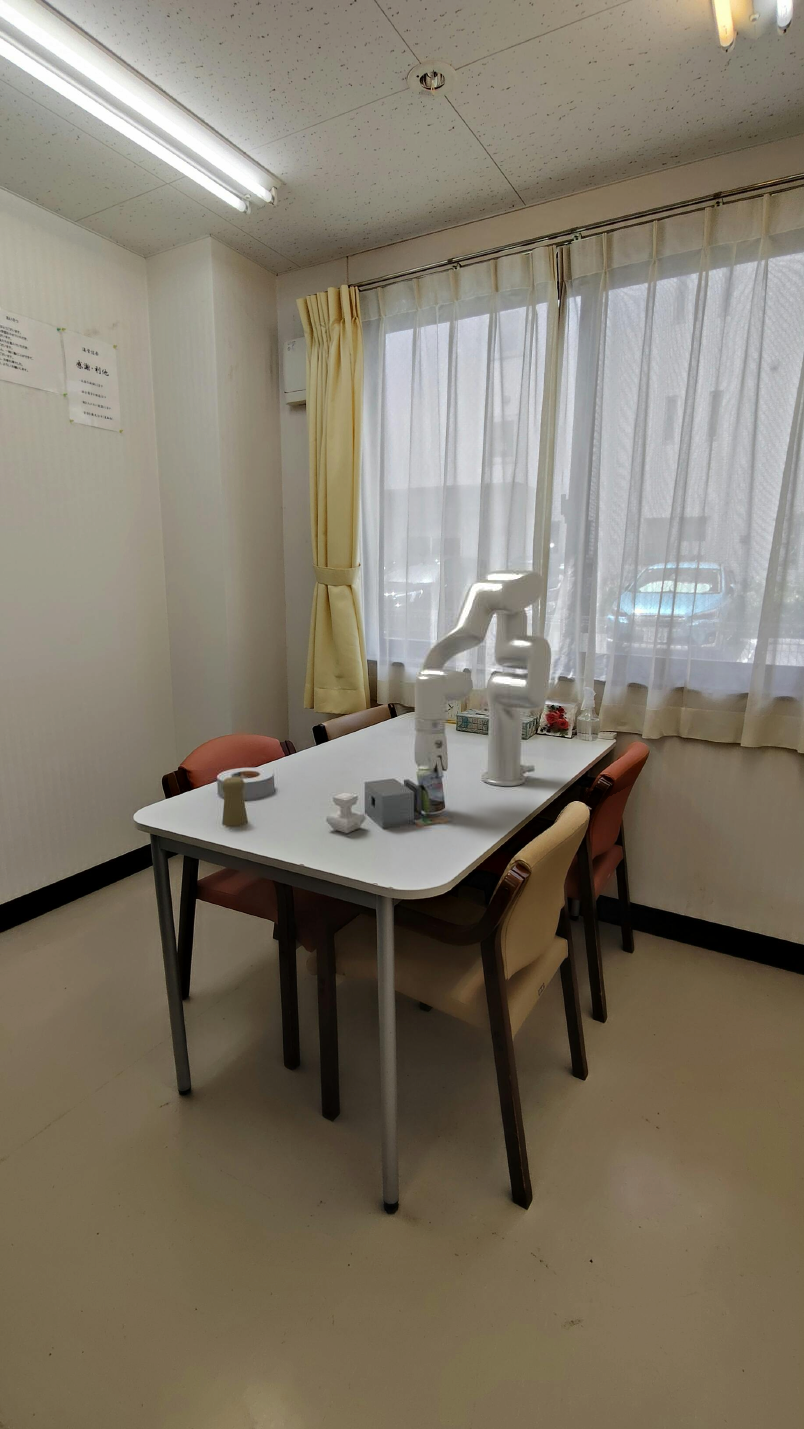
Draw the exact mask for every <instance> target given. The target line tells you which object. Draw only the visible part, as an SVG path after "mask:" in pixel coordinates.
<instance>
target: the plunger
mask: <svg viewBox="0 0 804 1429" xmlns="http://www.w3.org/2000/svg"><path fill="white" fill-rule="evenodd" d="M403 785H404V786H406V787H407V788H409V789H410V790H411V791H413V792H414V814H416V815H419V816H420V817H421V818H422V819H427V816H426V815H425V813H424V814H423V811H422V788H421V787H419V786H418V784H417V783H415V782H413V781H412V780H410V779H409V778H406V779H404V780H403Z"/></svg>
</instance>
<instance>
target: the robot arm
mask: <svg viewBox="0 0 804 1429" xmlns="http://www.w3.org/2000/svg"><path fill="white" fill-rule="evenodd" d="M544 589H545V582H544V578H543V576H542V575H541V574H540V573H539V572H538V571H535V570H525V569H524V570H511V569H510V570H509V569H508V570H504V569H503V570H494V571H490V572H488V573H486V574H485V575H484V576H483V579H482V580H477V581H475V582H473V583H472V584H470V586H469V587H468V589H467V592H466V594H465V597H464V598H463V599H464V600H463V602H462V603H461V604H462V605H461V607H460V610H459V613H458V615H457V617H456V619H455V623H454V624H453V628H452V629H451V631H449V632H448V633H446V634H445V635H444V636H442V637H441V638H440V639H439V640H438V641H437V642H436V643H435V644H433V646H432V647H431V648H430V649H429V651H428V652H427V654H426V655H425V657H424V660H423V662H422V665H421V667H420V670H419V672H418V675H417V676H416V677H415V680H414V731H415V738H414V763H415V764H416V765H417V768H418V767H419V766H422V767H425V768H429V771H430V772H433V771H434V770H433V768H436V779H440V778H442V779H443V778H444V772H447V771H448V768H449V766H448V765H449V764H448V762H449V761H448V759H449V758H448V756H449V755H448V754H449V753H448V743H447V735H446V734H447V733H446V711H447V710H446V708H447V706H446V705H447V704H446V703H447V702H461V701H464V700H467V698H468V697H469V696H470V695H471V694H472V691H473V688H474V686H473V685H474V684H473V680H472V678H471V676H470V675H469V674H467V673H466V672H464V671H460V670H451V669H443V668H444V666H445V665H446V664H447V662H448V661H450V659H452V658H453V657H455V656H457V655H458V654H461V653H463V652H466V651H468V650H471V649H473V648H475V647H478V646H479V645H481V644H482V643H483V642H484V641H485V638H486V635H487V632H488V630H489V627H490V625H491V622H492V619H493V616H494V615H495V616H496V631H495V644H494V660H495V663H496V664H497V665H498V666H500V667H502V668H507V669H515V670H524V671H525V670H526V671H527V674H522V673H514V672H497V673H494V674H492V675H491V676H490V677H489V678H488V679H487V682H486V687H485V688H486V690H485V691H486V698H487V704H488V706H487V707H488V738H487V740H488V742H487V743H488V744H487V745H488V746H487V768H486V769H487V771H486V772H484V773H483V774H481V780H482V781H483V782H484V783H485V784H489V785H493V786H498V787H500V786H501V787H514V786H519V785H522V784H524V783H525V782H526V776H525V775H524V774H526V773H534V772H535V766H534V765H532V764H531V765H526V764H521V762H522V741H523V740H522V738H523V737H522V736H523V735H522V734H523V719H522V717H521V714H520V711H519V709H521V710H522V709H523V710H531V711H537V710H541V709H542V708H543V707H544V706H545V705H546V703H547V699H548V695H549V686H550V675H551V666H552V649H551V645H550V642H549V641H548V640H547V639H546V638H545V637H543V636H539V635H528V614H527V611H526V608H528V607H531V605H534V604H535V603H537V602H538V601H539V600H540V598H541V597H542V595H543V593H544Z"/></svg>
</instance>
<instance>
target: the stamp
mask: <svg viewBox="0 0 804 1429" xmlns="http://www.w3.org/2000/svg"><path fill="white" fill-rule="evenodd" d="M358 800H359V798H358V794H352V793H347V792H342V793H340V794H338V795H335V796H333V797H332V802H333V803H334V805H335V806H337V807H339V808H340V810H338V811H335V812H332V813H331V814H328V815H327V816H326V819H325V822H327V824H328V825H329V826H330V827H331V828H332V830H336V831H339V832H341V833H345V834H348V833H351V832H353V831H355V830H357V829H360V827H361V826H362V824H363V823H364V822H365V821H366V819H367V818H366V814H365V813H362V812H358V811H355V810H352V807H353V806H355V805H356V804H357V802H358Z"/></svg>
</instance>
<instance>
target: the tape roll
mask: <svg viewBox="0 0 804 1429" xmlns="http://www.w3.org/2000/svg"><path fill="white" fill-rule="evenodd" d="M230 777H239V778H242V779H243V781H244V790H243V791H242V792H243V797H244V801H249V800H257V799H261V798H265V797H268V796H271V795H272V794H273V793H274V792H275V774H274V772H273V770H271V769H268V768H264V767H240V768H232V769H231V768H230V769H228V770H224V771H222V772H220V773H219V774H218V775H217V776H216V785H217V786H216V787H217V796H219V797H220V798H222V799H224V797H225V792H224V791H223V789H222V783H223V781H224V780H225V779H227V778H230Z"/></svg>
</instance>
